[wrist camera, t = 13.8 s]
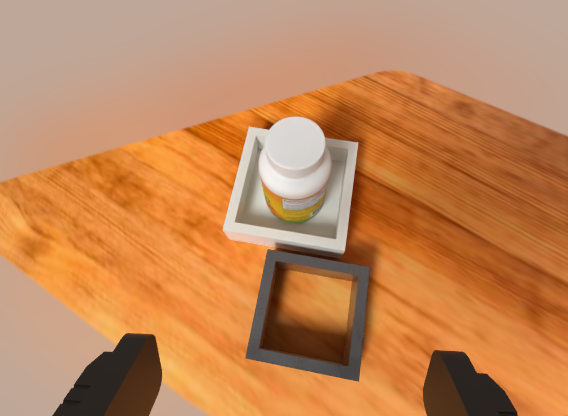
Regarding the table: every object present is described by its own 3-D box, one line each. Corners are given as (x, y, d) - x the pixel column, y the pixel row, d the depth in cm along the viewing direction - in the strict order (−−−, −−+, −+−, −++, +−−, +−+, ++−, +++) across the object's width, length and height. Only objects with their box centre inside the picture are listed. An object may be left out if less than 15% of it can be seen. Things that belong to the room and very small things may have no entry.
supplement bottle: (263, 173, 32) (251, 110, 23) (320, 168, 32) (330, 103, 23) (267, 228, 30) (256, 183, 21) (327, 222, 30) (342, 174, 21)
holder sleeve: (362, 273, 29) (369, 267, 26) (351, 376, 26) (358, 381, 24) (270, 257, 30) (267, 249, 27) (250, 355, 27) (245, 358, 24)
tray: (352, 158, 33) (358, 142, 30) (340, 258, 30) (344, 250, 27) (252, 144, 34) (249, 126, 31) (229, 239, 30) (222, 229, 28)
